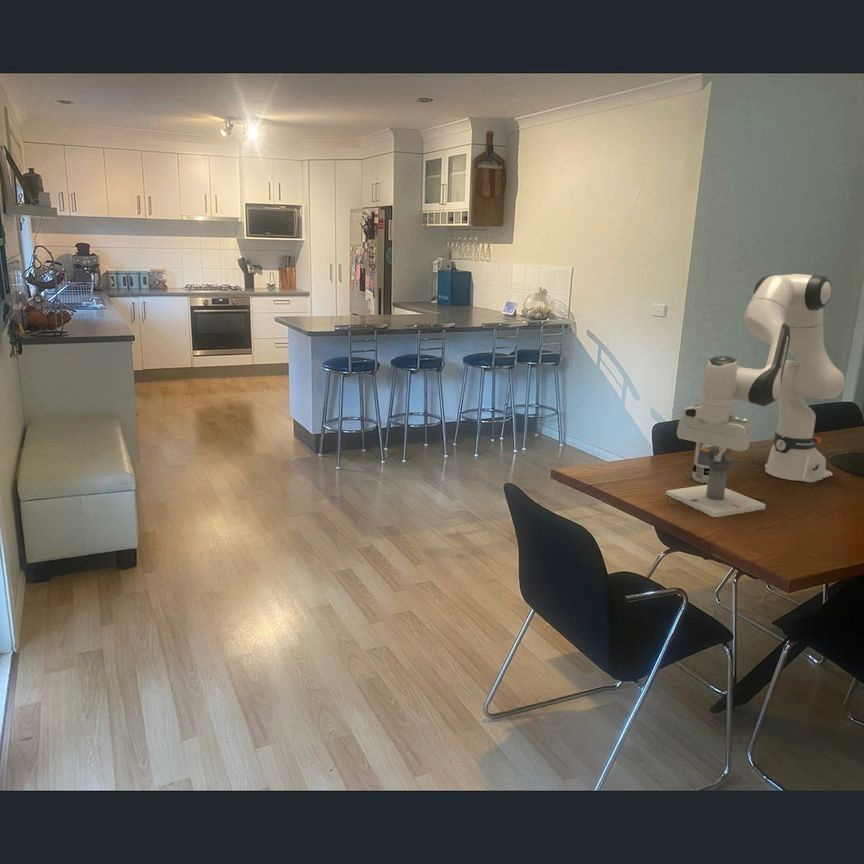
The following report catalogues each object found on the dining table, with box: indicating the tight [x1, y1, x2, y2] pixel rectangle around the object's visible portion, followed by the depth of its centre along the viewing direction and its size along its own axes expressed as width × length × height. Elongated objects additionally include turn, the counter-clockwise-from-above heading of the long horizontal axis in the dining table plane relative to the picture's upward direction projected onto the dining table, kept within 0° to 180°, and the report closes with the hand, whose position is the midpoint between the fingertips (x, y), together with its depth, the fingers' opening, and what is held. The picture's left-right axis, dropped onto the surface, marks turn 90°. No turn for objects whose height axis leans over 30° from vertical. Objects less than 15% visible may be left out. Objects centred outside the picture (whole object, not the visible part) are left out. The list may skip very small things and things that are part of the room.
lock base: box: [665, 467, 767, 518], centre depth 212 cm, size 20×20×12 cm
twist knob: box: [697, 446, 735, 470], centre depth 207 cm, size 14×8×7 cm, turn 129°
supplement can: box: [691, 444, 712, 485], centre depth 232 cm, size 8×8×15 cm
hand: (709, 459), depth 205 cm, fingers open, 3 cm apart
